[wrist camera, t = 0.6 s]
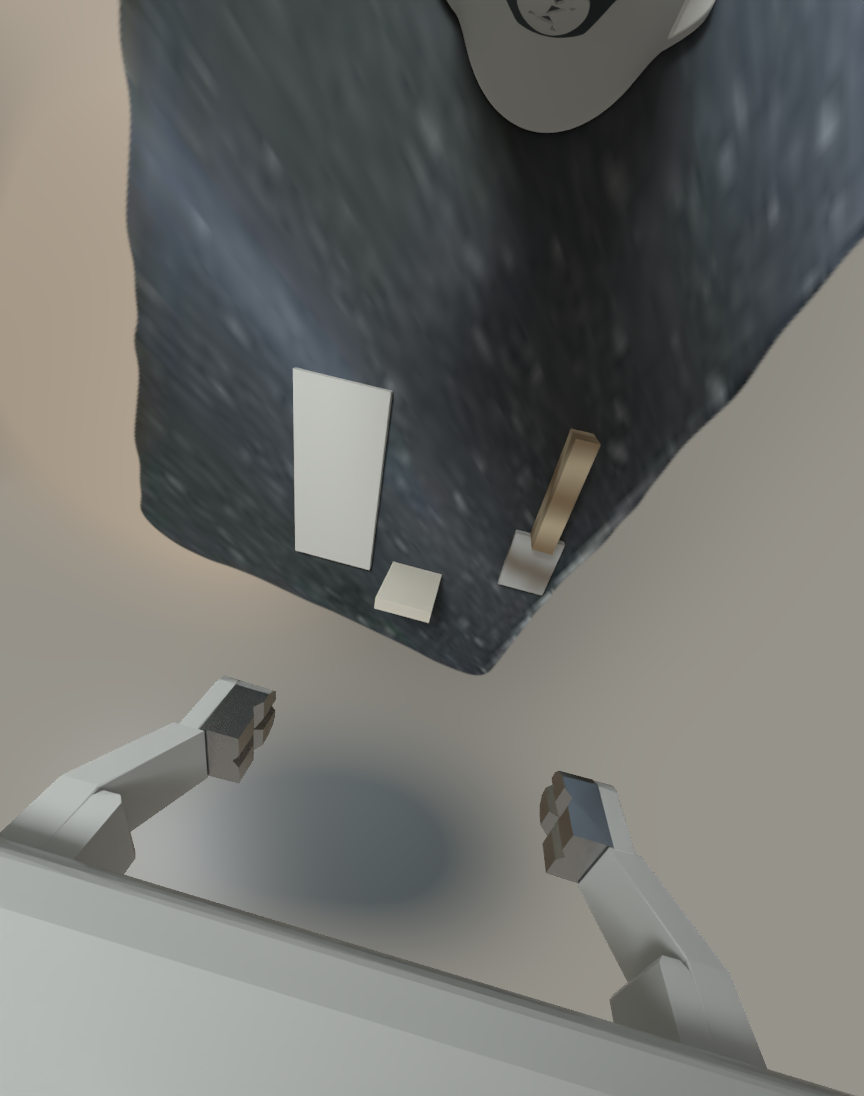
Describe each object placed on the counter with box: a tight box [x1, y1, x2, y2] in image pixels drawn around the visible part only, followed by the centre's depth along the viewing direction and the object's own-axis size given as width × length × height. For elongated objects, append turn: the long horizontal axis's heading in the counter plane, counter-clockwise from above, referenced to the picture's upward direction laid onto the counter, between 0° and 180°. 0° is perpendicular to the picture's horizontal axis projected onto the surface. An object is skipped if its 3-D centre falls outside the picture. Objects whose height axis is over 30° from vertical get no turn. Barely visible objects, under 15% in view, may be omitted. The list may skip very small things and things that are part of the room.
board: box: [293, 368, 393, 570], centre depth 47 cm, size 24×11×1 cm, turn 169°
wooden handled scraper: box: [498, 429, 601, 595], centre depth 44 cm, size 21×6×4 cm, turn 169°
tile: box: [374, 562, 442, 623], centre depth 50 cm, size 2×7×8 cm, turn 79°
